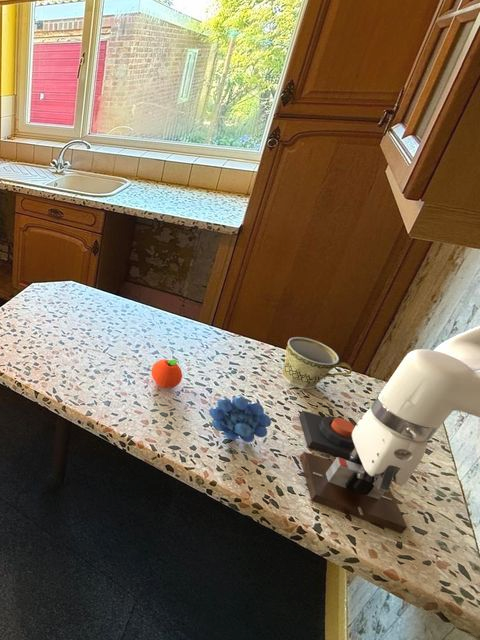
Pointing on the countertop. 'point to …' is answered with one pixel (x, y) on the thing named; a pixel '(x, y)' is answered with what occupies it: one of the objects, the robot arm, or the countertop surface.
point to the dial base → (350, 496)
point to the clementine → (166, 373)
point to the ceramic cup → (309, 362)
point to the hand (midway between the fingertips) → (353, 483)
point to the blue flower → (240, 419)
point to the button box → (325, 436)
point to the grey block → (347, 475)
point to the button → (342, 427)
